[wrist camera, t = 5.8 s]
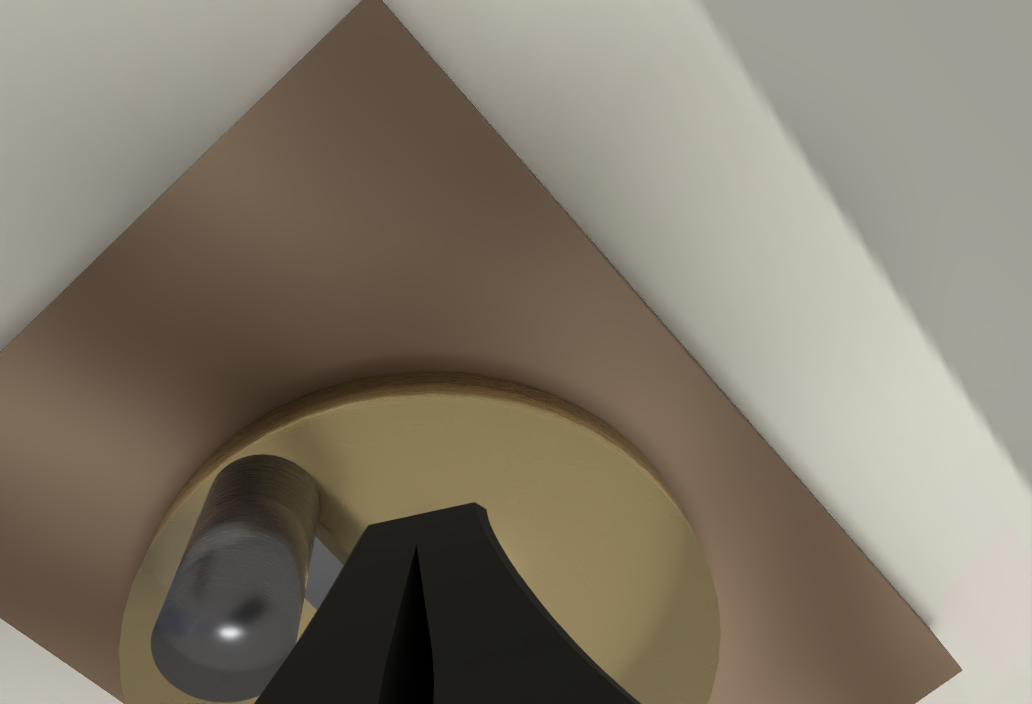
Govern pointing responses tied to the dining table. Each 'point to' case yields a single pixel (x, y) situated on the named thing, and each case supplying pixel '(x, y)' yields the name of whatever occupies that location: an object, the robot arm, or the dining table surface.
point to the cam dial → (410, 491)
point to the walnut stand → (396, 368)
